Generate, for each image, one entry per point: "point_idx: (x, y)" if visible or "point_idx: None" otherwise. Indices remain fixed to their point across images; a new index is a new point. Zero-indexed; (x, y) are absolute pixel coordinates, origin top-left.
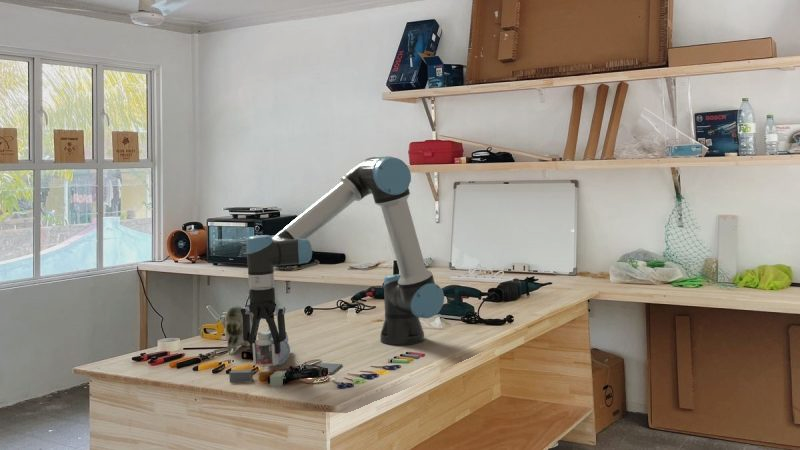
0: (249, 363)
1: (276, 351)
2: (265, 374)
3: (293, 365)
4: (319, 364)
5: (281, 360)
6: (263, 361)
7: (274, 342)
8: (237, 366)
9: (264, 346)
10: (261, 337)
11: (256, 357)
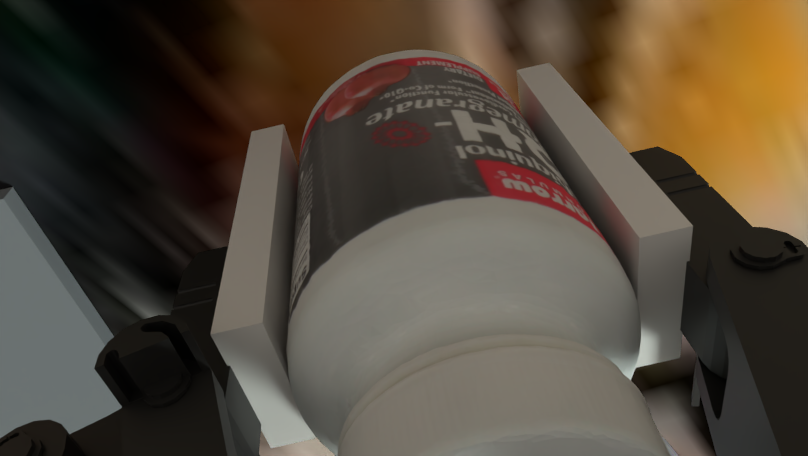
0: None
1: (217, 270)
2: (337, 6)
3: None
4: (49, 418)
5: None
6: (382, 80)
7: (143, 345)
8: (799, 157)
9: (369, 215)
10: (489, 364)
11: (547, 141)
